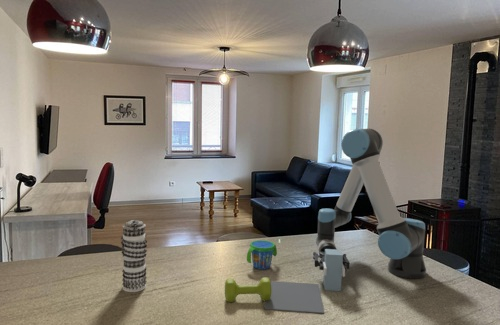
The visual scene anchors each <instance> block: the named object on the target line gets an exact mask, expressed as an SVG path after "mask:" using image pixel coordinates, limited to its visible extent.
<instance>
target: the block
mask: <svg viewBox="0 0 500 325" xmlns="http://www.w3.org/2000/svg"><path fill="white" fill-rule="evenodd" d="M324 262H325V264H326V268H327V271H326V275H324V274H323V282H322V285H323V287H324V291H333V292H334V291H336V292H341V291H342V277H343V276H342V263H343V252H342V250H341V249H337V250H335V249H325V258H324Z"/></svg>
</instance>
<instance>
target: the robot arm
mask: <svg viewBox="0 0 500 325" xmlns="http://www.w3.org/2000/svg"><path fill="white" fill-rule="evenodd" d="M383 143H384V142H383V137H382V135H381V134H380V133H379V132H378V131H377V130H375V129H373V128H354V129H351V130H349V131H347V132H346V133H345V134H344V136H343V137H342V140H341V150H342V152H343V154H344V155H345V156H347V157H349V159H350V161H351V163H352V165H351V166H352V167H351V169H350V171H349V174H348V175H347V176H348V177H347V179H346V181H345V183H344V186H343V188H342V190H341V193H340V194H339V198H338V199H337V202H336V205H335V207H334V209H333V208H321V209H319V211H318V215H317V235H316V240H315V243H316V247H317V249H318V253H317V252H315V251H314V252H312V259H313V260H314V267H315V268H318V267H319V270H320V271H322V272H323V276H324V275H326V271H327V268H326V264H325V262H324V258H325V249H335V250H338V249H337V247H336V245H335V231H336V229H335V228H338V227H340V226H343V225H346V224H347V223H349V222H350V221H351V220H352V211H353V208H354V206H355V203H356V202H357V199H358V197H359V195H360V192H361V191H362V188H363V185H364V187H365V190H366V193H367V196H368V198H369V201H370V203H371V206H372V209H373V211H374V214H375V217H376V219H377V222H378V224H377V226H376V230H377V233H378V235H379V236H378V239H377V247H378V249H379V250H380V252H381V253H382V254H383V255H384V256H385V257H388V259H389V261H388V264H387V270H388V272H389V273H391V274H393V275H395V276H397V277H400V278H404V279H409V280H411V279H412V280H413V279H414V280H420V279H424V278H425V277H426V276H427V267H426V264H425V260H424V247H425V246H424V245H425V236H426V230H427V229H426V223H425V222H424V221H422V220H419V219H415V218H414V219H413V218H408V217H402V216H401V215H400V213H399V210H398V208H397V206H396V203H395V200H394V197H393V195H392V192H391V190H390V187H389V185H388V182H387V179H386V176H385V174H384V172H383V168H382V167H381V164H380V162H379V159H380V157H381V151H382V148H383V145H384V144H383ZM342 254H343V253H342ZM319 259H320V260H319ZM350 266H351V265H350V261H349V259H348V257H347V254H345V253H344V254H343V263H342V277H345V276H346V272H347V270H350Z"/></svg>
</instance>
